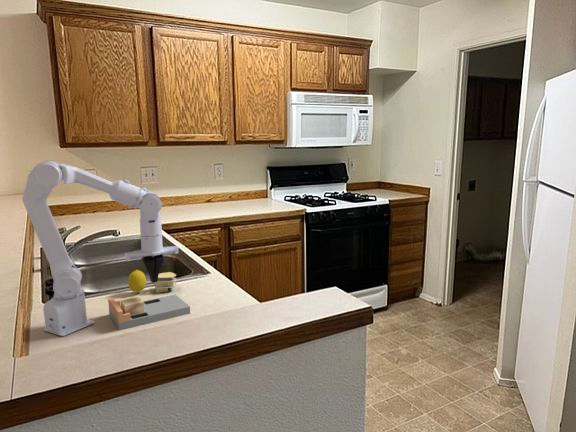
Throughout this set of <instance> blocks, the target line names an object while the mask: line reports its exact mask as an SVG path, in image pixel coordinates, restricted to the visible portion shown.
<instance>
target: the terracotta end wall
mask: <svg viewBox="0 0 576 432" xmlns="http://www.w3.org/2000/svg"><path fill="white" fill-rule="evenodd" d="M107 299H108V300H107V301H108V310H109V309H110V311H111V312H112V314H113V315H114V317H115V318H116V319H117V321H118V322H119V323H121V322H125V321H130V320H131V317H130V313H127V314H123V311H122V309H121V308H120V307H121V302H120V300H115V298H114V297H108V298H107Z"/></svg>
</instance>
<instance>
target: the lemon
mask: <svg viewBox="0 0 576 432" xmlns="http://www.w3.org/2000/svg"><path fill="white" fill-rule="evenodd" d="M127 281H128V282H127V285H128V287H129V289H130V291H131V292H134V293H135V294H140V293H141V292H142V291H143V290H145V288H146V286H147V277H146V276H145V273H144V272H143V271H142V270H139V269H135V270H133V271H131V273H130V274H129V275H128V279H127Z"/></svg>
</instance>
